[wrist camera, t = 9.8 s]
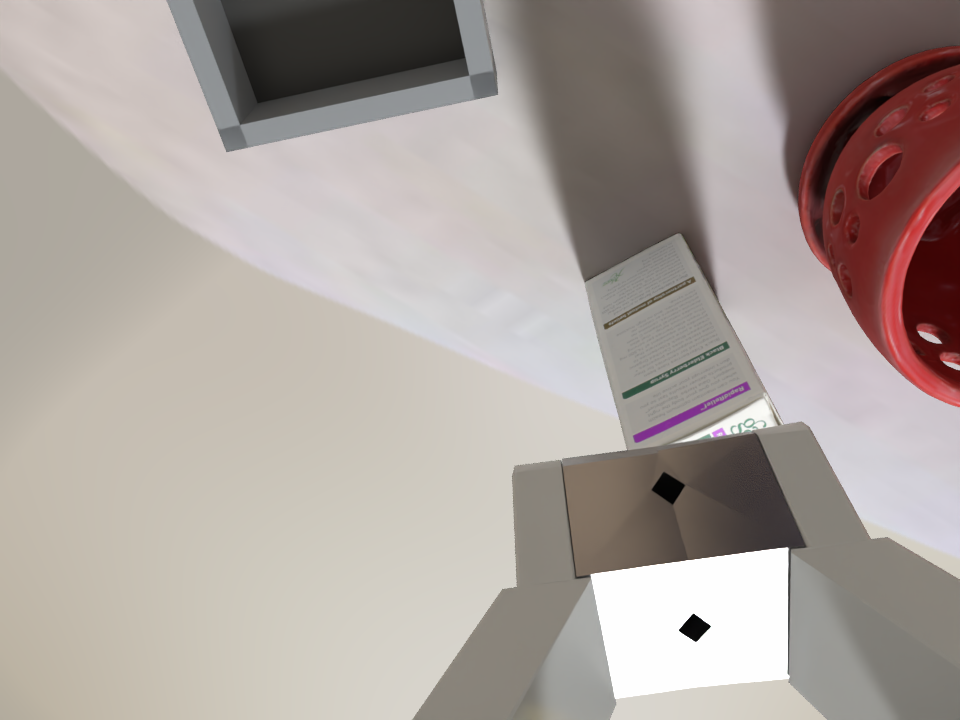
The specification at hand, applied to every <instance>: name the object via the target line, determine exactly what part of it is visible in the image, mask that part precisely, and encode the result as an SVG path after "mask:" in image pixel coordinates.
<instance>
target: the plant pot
mask: <svg viewBox="0 0 960 720" xmlns="http://www.w3.org/2000/svg"><path fill="white" fill-rule="evenodd" d="M798 207H799V216H800V222H801V226H802V229H803V232H804V235H805V238H806V241H807V243H808V245H809V247H810V249H811V250H812V252H813V254H814V255H815V256H816V257H817V259H818V260H819V261H820V262H821V263H822V264H823V265H824V266H825V267H826V268H827V269H829V270H830V271H831V272H832V274H833V277H834V278H835V280H836V282H837V284H838V286H839V288H840V290H841V292H842V295H843V297H844V299H845V301H846V302H847V304H848V306H849V308H850V310H851V312H852V314H853V316H854V317H855V319H856V320H857V322H858V324H859V325H860V327H861V328H862V330H863V331H864V333H865V334H866V335H867V337H868V338H869V339H870V341H871V342H872V343H873V345H874V346H875V347H876V348H877V350H878V351H879V352H880V353H881V354H882V355H883V356H884V357H885V358H886V360H887V361H888V362H889V363H890V364H891V365H892V366H893V367H894V368H895V369H896V370H897V371H898V372H900V373H901V374H902V375H903V376H904V377H905V378H906V379H907V380H908V381H910V382H911V383H912V384H913V385H915V386H916V387H917V388H919V389H920V390H922V391H923V392H925V393H926V394H928V395H930V396H932V397H934V398H936V399H938V400H941V401H943V402H945V403H948V404H950V405H953V406H957V407H960V370H956V369H953V368H951V367H949V366H947V365H946V364H944V363H943V362H942V361H946V362H951V363H955V364H958V365H960V46H949V47H942V48H936V49H931V50H927V51H924V52H920V53H917V54H914V55H911V56H909V57H906V58H904V59H902V60H899V61H897V62H895V63H893V64H891V65H889V66H888V67H886V68H884V69H882V70H881V71H879V72H877V73H876V74H874V75H873V76H872V77H870V78H869V79H867V80H866V81H864V82H863V83H862V84H860V85H859V86H858V87H857V88H855V89H854V90H853V91H852V92H851V93H850V94H849V95H848V96H847V97H846V98H845V99H844V100H843V101H842V102H841V103H840V104H839V105H838V107H837V108H836V109H835V110H834V111H833V112H832V113H831V115H830V116H829V118H828V119H827V120H826V122H825V123H824V125H823V126H822V127H821V129H820V131H819V132H818V134H817V136H816V138H815V140H814V141H813V143H812V145H811V147H810V150H809V152H808V154H807V156H806V160H805V163H804V166H803V169H802V173H801V178H800V184H799V196H798ZM918 331H922V332H927V333H929V334H932V335H934V336H935V337H937V338H938V339H939V340H940V341H941V342H942V344H936V343H932V342H929V341H927V340H925V339H924V338H922V337H921V336H920V335H919V333H918Z"/></svg>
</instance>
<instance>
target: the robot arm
mask: <svg viewBox="0 0 960 720" xmlns="http://www.w3.org/2000/svg"><path fill="white" fill-rule="evenodd" d="M512 483H513V507H514V529H515V554H516V577H517V587H514V588H508V589H502V591H501V592H500V594H499V595H498V597H497V598H496V599H495V601H494V602H493V604H492V605H491V607H490V608H489V609H488V611H487V612H486V614H485V615H484V617H483V618H482V620H481V621H480V622H479V624H478V625H477V627H476V628H475V630H474V631H473V633H472V634H471V636H470V637H469V638H468V640H467V641H466V643H465V644H464V646H463V647H462V649H461V650H460V652H459V653H458V654H457V656H456V657H455V659H454V660H453V662H452V663H451V665H450V666H449V668H448V669H447V670H446V672H445V673H444V675H443V676H442V678H441V679H440V681H439V682H438V683H437V685H436V686H435V688H434V689H433V691H432V692H431V694H430V695H429V697H428V698H427V699H426V701H425V703H424V704H423V705H422V707H421V708H420V709H419V711H418V712H417V714H416V715H415V717H414V718H413V720H610V718H611V715H612V713H613V710H614V708H615V706H616V699H615V698H620V697H627V696H635V695H642V694H648V693H654V692H662V691H668V690H676V689H682V688H690V687H696V686H706V685H717V684H727V683H739V682H751V681H761V680H772V679H784V678H789V683H790V684H791V685H792V686H793V687H794V688H795V689H796V690H797V691H798V692H799V693H800V694H801V695H802V696H803V697H804V698H805V699H806V700H807V701H808V702H810V703H811V704H812V705H813V706H814V707H815V708H816V709H817V710H818V711H819V712H820V713H821V714H822V715H823V716H824V717H825V718H826V719H827V720H960V579H958V578H956V577H954V576H953V575H951V574H949V573H947V572H946V571H944V570H942V569H941V568H939V567H937V566H936V565H934V564H932V563H931V562H929V561H927V560H925V559H924V558H922V557H920V556H919V555H917V554H915V553H914V552H912V551H910V550H909V549H907V548H905V547H903V546H902V545H900V544H898V543H897V542H895V541H893V540H892V539H890V538H888V537H885V538H877V539H871V538H870V536H869V535H868V533H867V531H866V529H865V527H864V526H863V524H862V522H861V520H860V518H859V516H858V515H857V513H856V511H855V509H854V507H853V505H852V504H851V502H850V500H849V498H848V496H847V495H846V493H845V491H844V489H843V487H842V485H841V484H840V482H839V480H838V478H837V476H836V475H835V473H834V471H833V469H832V467H831V465H830V464H829V462H828V460H827V458H826V456H825V454H824V453H823V451H822V449H821V447H820V445H819V444H818V442H817V440H816V438H815V436H814V434H813V433H812V431H811V429H810V427H809V426H807V425H806V424H804V423H803V422H797V423H791V424H785V425H779V426H773V427H768V428H762V429H756V430H752V432H743V433H737V434H730V435H724V436H718V437H712V438H705V439H699V440H693V441H687V442H680V443H674V444H668V445H662V446H656V447H648V448H641V449H633V450H626V451H618V452H610V453H602V454H595V455H587V456H579V457H572V458H564V459H562V461H561V460H556V461H549V462H540V463H533V464H525V465H517V466H515V467H514V471H513V475H512Z"/></svg>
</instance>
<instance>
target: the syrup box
mask: <svg viewBox="0 0 960 720" xmlns="http://www.w3.org/2000/svg"><path fill="white" fill-rule="evenodd" d="M585 288H586V292H587V296H588V300H589V305H590V310H591V314H592V318H593V322H594V326H595V330H596V334H597V338H598V342H599V345H600V349H601V353H602V357H603V360H604V364H605V368H606V372H607V376H608V380H609V383H610V387H611V390H612V394H613V398H614V402H615V405H616V409H617V412H618V416H619V420H620V423H621V428H622V431H623V436H624V440H625V443H626V448H627V450H633V449H641V448H648V447H656V446H662V445H668V444H674V443H680V442H687V441H693V440H699V439H705V438H712V437H718V436H724V435H730V434H737V433H743V432H752V430H756V429H762V428H768V427H773V426H779V425H784V423H783V422H782V420H781V418H780V416H779V414H778V412H777V410H776V408H775V406H774V404H773V402H772V401H771V399H770V397H769V395H768V393H767V391H766V389H765V387H764V386H763V384H762V382H761V380H760V378H759V376H758V374H757V372H756V371H755V369H754V367H753V365H752V363H751V361H750V359H749V357H748V355H747V353H746V351H745V349H744V348H743V346H742V344H741V342H740V340H739V338H738V337H737V335H736V333H735V331H734V329H733V327H732V326H731V324H730V322H729V320H728V318H727V316H726V314H725V313H724V311H723V309H722V307H721V305H720V303H719V301H718V299H717V298H716V296H715V294H714V292H713V290H712V288H711V287H710V285H709V283H708V281H707V279H706V277H705V276H704V274H703V272H702V270H701V268H700V266H699V265H698V263H697V261H696V259H695V257H694V255H693V254H692V252H691V250H690V248H689V246H688V244H687V243H686V241H685V239H684V237H683V235H682V234H680V233H678V234H676V235H673V236H671V237H669V238H667V239H666V240H663V241H661V242H659V243H657V244H655V245H653V246H651V247H649V248H648V249H646V250H644V251H642V252H640V253H638V254H636V255H634V256H632V257H631V258H629V259H627V260H625V261H623V262H621V263H619V264H618V265H616V266H614V267H612V268H610V269H608V270H607V271H605V272H603V273H601V274H599V275H597V276H595V277H594V278H592V279H590V280H588V281H586V282H585Z"/></svg>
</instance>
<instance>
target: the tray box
mask: <svg viewBox="0 0 960 720" xmlns="http://www.w3.org/2000/svg"><path fill="white" fill-rule="evenodd" d="M167 2H168V5H169V7H170V10H171V12H172V15H173V18H174V20H175V23H176V25H177V28H178V30H179V33H180V35H181V38H182V40H183V43H184V45H185V48H186V50H187V53H188V55H189V58H190V61H191V63H192V66H193V68H194V71H195V73H196V76H197V78H198V81H199V83H200V86H201V88H202V91H203V93H204V96H205V98H206V101H207V104H208V106H209V109H210V111H211V114H212V116H213V119H214V121H215V124H216V126H217V129H218V131H219V134H220V136H221V139H222V141H223V144H224V147H225V149H226V152H229V151H234V150H239V149H244V148H248V147H253V146H258V145H263V144H267V143H272V142H277V141H282V140H286V139H291V138H296V137H300V136H305V135H310V134H315V133H319V132H324V131H329V130H334V129H338V128H343V127H348V126H352V125H357V124H362V123H367V122H371V121H376V120H381V119H386V118H390V117H395V116H400V115H404V114H409V113H414V112H419V111H423V110H428V109H433V108H438V107H442V106H447V105H452V104H456V103H461V102H466V101H471V100H475V99H480V98H485V97H490V96H494V95H498V87H497V72H496V67H495V62H494V56H493V51H492V46H491V41H490V36H489V30H488V25H487V20H486V15H485V9H484V4H483V0H167Z"/></svg>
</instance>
